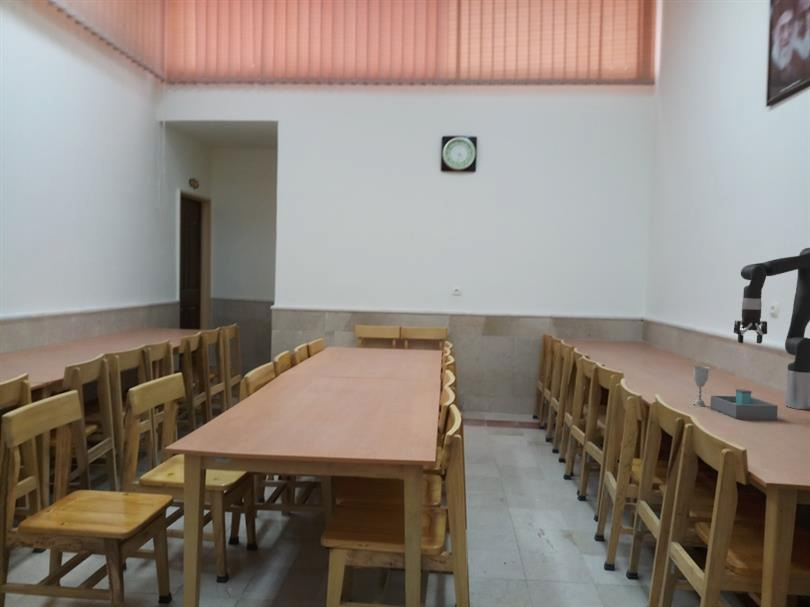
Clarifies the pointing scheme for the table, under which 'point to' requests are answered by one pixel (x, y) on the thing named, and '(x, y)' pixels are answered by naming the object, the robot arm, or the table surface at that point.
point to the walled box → (744, 408)
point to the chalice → (700, 381)
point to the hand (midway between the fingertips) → (749, 343)
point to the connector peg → (743, 397)
